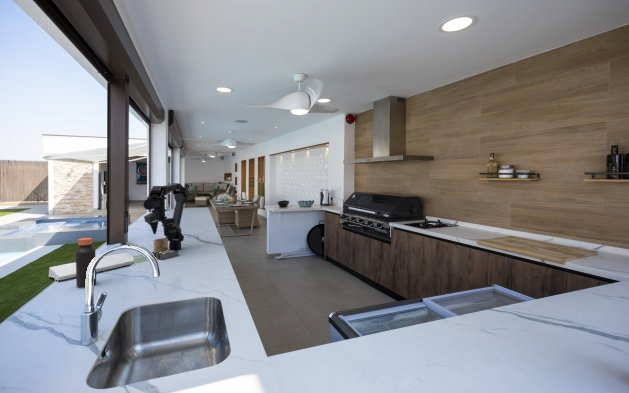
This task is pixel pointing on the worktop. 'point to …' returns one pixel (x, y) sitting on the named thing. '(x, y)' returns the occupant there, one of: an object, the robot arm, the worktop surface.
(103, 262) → the decorative molding
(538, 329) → the worktop surface
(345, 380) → the worktop surface
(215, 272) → the worktop surface
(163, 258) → the offcut rack
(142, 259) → the sage stand
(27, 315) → the worktop surface
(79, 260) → the bottle
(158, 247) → the walnut sheet
